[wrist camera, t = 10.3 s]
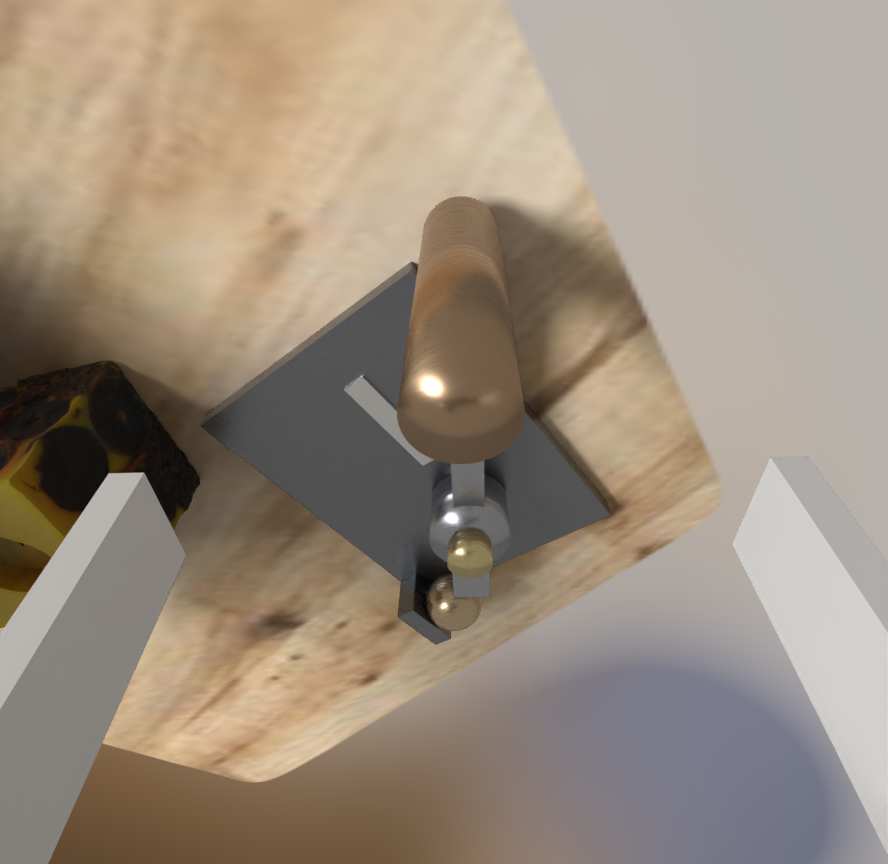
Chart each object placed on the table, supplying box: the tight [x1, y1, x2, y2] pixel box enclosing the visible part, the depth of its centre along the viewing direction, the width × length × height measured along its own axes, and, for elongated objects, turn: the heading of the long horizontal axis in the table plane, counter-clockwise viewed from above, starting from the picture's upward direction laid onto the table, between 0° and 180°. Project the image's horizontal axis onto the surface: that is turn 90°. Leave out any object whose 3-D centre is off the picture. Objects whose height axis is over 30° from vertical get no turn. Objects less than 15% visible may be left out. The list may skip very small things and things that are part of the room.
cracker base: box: [200, 262, 610, 645], centre depth 34 cm, size 23×17×7 cm
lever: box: [397, 197, 525, 597], centre depth 27 cm, size 25×5×13 cm, turn 3°
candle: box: [0, 361, 200, 628], centre depth 32 cm, size 10×10×10 cm
